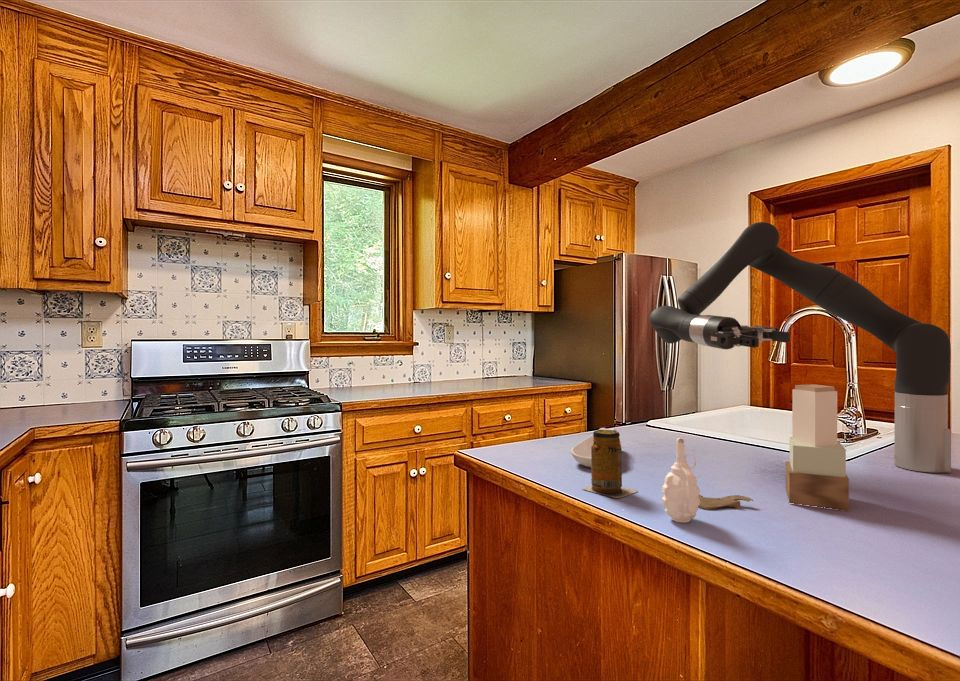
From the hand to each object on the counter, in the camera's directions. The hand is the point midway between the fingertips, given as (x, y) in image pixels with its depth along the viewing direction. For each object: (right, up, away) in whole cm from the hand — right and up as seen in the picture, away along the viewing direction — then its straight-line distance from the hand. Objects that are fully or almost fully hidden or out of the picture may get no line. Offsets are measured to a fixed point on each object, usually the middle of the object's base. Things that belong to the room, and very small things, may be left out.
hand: (773, 340), depth 105 cm
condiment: (-35, -31, -3) cm, 47 cm away
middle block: (+2, -24, -10) cm, 26 cm away
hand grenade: (-27, -31, -19) cm, 45 cm away
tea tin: (+2, -19, -10) cm, 22 cm away
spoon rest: (-31, -31, +22) cm, 49 cm away
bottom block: (+2, -30, -10) cm, 32 cm away
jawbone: (-16, -31, -5) cm, 36 cm away
